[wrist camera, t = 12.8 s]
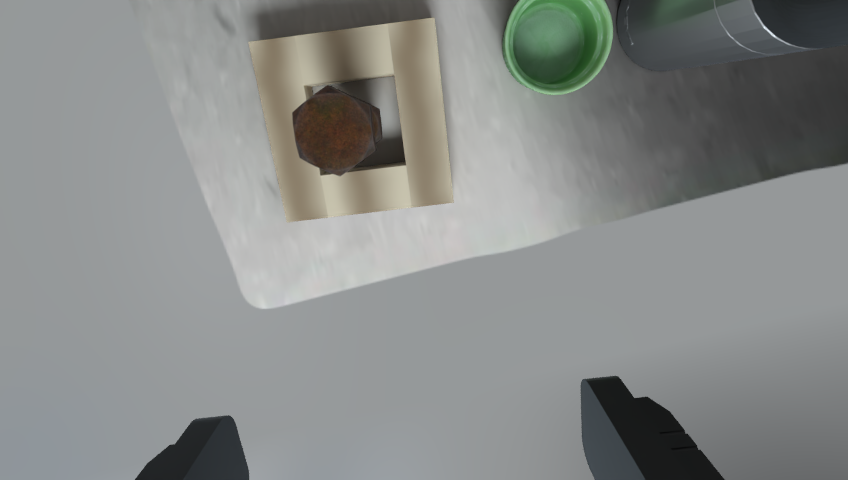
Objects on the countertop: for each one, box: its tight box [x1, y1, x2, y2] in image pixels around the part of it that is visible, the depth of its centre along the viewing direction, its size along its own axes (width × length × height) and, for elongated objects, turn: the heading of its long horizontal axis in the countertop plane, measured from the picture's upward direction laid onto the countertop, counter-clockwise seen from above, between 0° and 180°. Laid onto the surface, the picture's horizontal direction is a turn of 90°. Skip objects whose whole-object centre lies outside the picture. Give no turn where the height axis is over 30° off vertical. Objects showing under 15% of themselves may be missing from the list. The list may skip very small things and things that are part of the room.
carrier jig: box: [248, 17, 454, 222], centre depth 42 cm, size 16×16×3 cm
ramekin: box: [502, 0, 613, 95], centre depth 39 cm, size 9×9×4 cm
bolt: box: [292, 85, 383, 176], centre depth 36 cm, size 6×5×15 cm
